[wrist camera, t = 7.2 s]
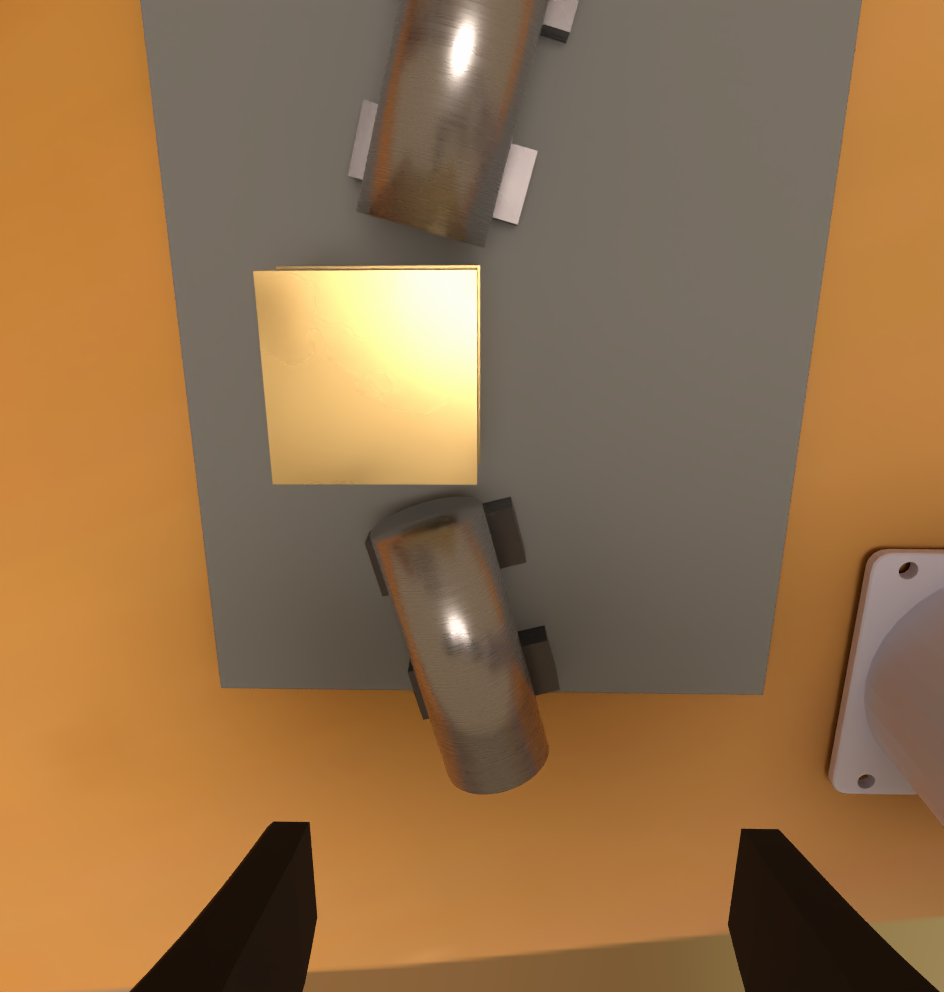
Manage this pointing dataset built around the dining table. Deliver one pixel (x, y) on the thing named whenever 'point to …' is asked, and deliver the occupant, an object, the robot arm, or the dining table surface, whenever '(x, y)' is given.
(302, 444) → the tan rectangular block
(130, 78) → the dining table surface
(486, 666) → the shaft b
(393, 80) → the shaft
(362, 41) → the mat
